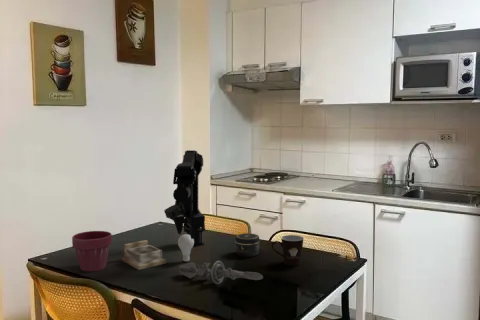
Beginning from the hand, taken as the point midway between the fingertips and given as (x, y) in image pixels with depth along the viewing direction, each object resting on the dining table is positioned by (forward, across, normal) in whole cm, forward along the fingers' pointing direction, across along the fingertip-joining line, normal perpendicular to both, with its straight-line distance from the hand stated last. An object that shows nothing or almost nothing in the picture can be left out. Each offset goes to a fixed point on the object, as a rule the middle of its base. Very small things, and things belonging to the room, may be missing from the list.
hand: (185, 236), depth 180 cm
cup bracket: (+10, -10, -13) cm, 19 cm away
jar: (+10, +8, +25) cm, 28 cm away
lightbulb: (+10, 0, 0) cm, 10 cm away
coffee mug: (+10, +27, +30) cm, 42 cm away
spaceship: (+10, +27, -4) cm, 30 cm away
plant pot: (+10, -17, -31) cm, 37 cm away
